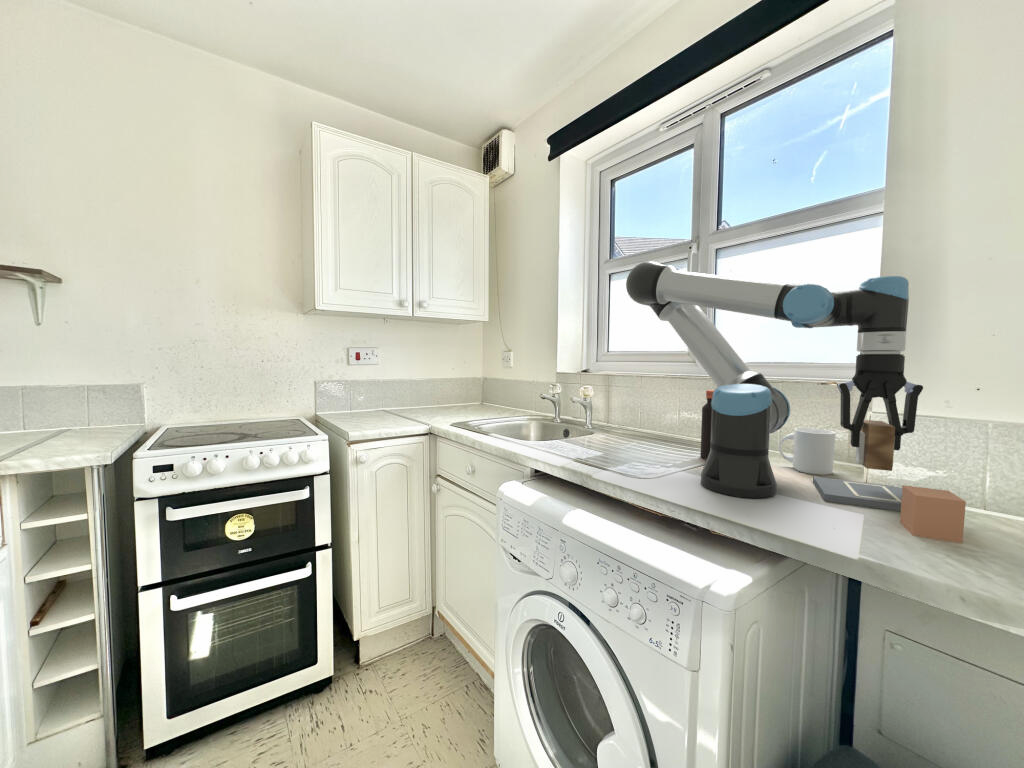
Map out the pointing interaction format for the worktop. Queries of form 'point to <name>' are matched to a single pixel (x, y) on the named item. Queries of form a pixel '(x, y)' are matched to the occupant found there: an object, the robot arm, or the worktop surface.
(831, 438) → the mug
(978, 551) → the worktop surface
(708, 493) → the worktop surface
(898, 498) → the baseboard
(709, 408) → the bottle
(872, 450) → the tall cardboard box
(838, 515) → the worktop surface
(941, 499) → the cap cube
